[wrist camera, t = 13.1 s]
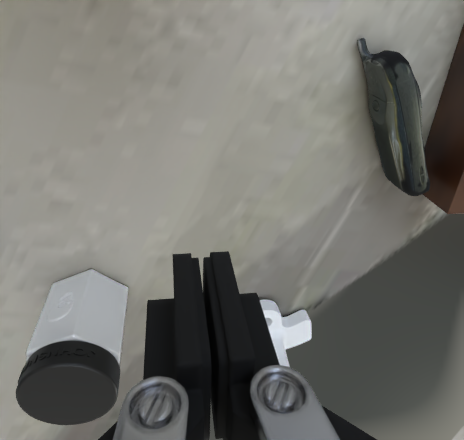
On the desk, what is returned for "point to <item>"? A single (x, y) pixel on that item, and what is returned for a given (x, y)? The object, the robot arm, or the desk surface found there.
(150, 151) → the desk surface
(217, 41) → the desk surface
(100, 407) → the jar
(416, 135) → the mobile phone
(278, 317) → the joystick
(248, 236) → the desk surface
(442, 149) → the wooden block
